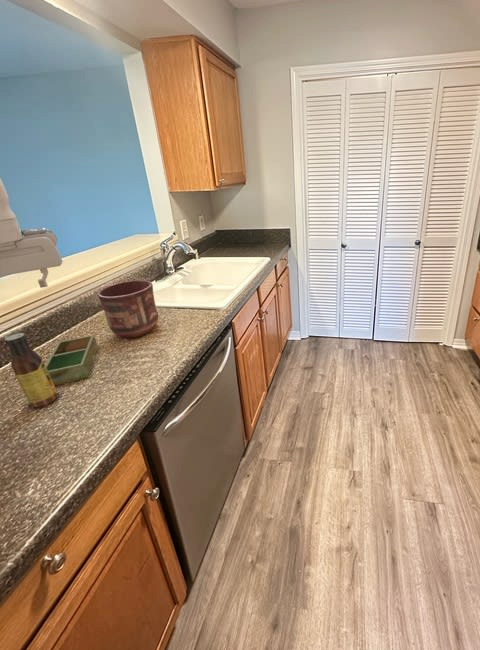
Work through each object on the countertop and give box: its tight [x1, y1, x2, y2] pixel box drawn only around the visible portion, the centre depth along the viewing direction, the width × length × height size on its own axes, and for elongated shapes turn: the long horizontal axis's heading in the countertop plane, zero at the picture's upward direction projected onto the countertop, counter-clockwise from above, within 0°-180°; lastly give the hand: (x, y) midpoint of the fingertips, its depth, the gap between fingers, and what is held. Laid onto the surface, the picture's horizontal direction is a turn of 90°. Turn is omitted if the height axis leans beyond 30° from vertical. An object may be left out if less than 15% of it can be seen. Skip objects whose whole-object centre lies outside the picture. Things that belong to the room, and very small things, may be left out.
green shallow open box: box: [45, 334, 99, 387], centre depth 103 cm, size 11×20×5 cm, turn 23°
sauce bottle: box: [4, 332, 58, 408], centre depth 84 cm, size 7×6×20 cm
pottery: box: [97, 279, 160, 340], centre depth 120 cm, size 18×18×18 cm
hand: (20, 291), depth 78 cm, fingers open, 8 cm apart
